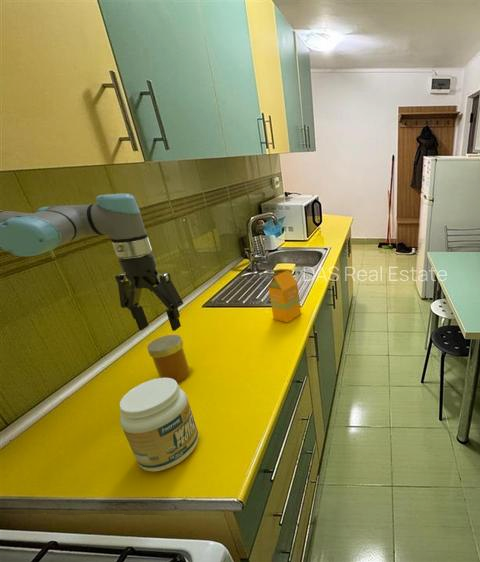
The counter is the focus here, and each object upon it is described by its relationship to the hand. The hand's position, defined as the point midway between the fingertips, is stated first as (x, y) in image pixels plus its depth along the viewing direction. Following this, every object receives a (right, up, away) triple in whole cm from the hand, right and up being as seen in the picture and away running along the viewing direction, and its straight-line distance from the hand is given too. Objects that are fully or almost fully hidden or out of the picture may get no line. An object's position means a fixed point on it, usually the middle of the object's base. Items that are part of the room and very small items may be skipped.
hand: (160, 328), depth 88 cm
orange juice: (+25, -1, +41) cm, 48 cm away
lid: (0, -5, +2) cm, 5 cm away
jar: (0, -16, +7) cm, 17 cm away
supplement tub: (+15, -26, -17) cm, 35 cm away
